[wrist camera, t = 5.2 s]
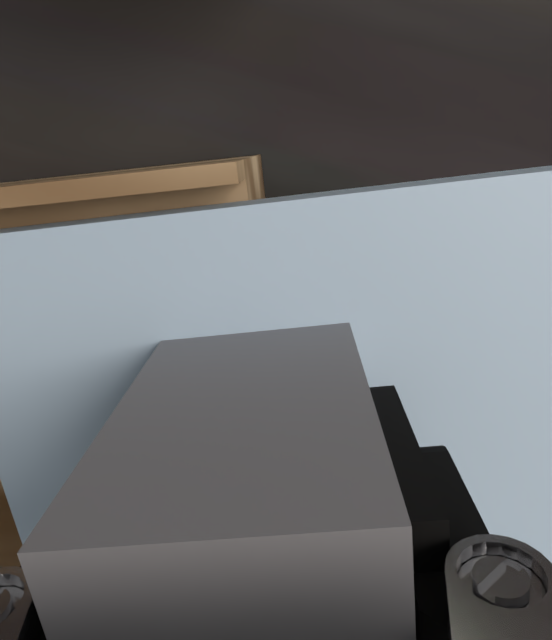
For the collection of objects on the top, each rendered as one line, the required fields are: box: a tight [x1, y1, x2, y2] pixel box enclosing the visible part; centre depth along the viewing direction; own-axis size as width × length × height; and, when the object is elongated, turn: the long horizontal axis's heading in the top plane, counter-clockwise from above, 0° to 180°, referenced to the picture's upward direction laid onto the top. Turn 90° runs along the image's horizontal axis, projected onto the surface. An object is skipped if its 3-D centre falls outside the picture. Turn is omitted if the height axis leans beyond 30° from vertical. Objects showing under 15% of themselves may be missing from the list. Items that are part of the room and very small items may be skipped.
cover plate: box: [0, 166, 552, 640], centre depth 9 cm, size 10×13×7 cm
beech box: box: [0, 154, 265, 567], centre depth 15 cm, size 12×14×8 cm
